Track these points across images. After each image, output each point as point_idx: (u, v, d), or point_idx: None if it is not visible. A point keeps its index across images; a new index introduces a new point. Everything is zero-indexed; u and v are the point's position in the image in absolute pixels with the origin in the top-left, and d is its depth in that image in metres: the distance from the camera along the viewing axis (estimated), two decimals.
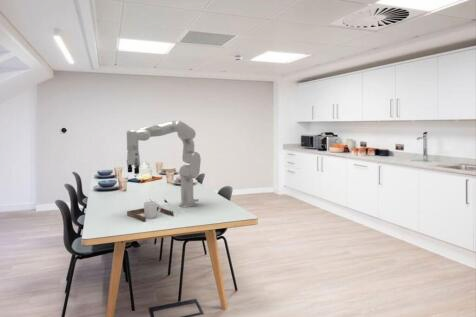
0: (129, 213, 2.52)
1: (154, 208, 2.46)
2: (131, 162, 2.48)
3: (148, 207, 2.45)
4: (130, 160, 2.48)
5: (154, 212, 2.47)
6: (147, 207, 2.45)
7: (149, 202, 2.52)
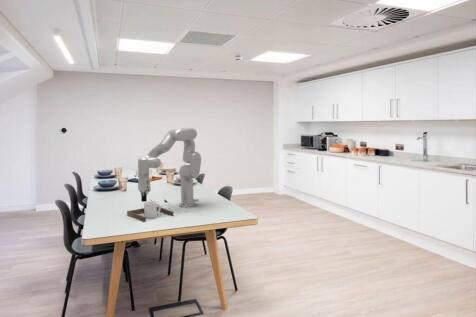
0: (129, 213, 2.52)
1: (154, 208, 2.46)
2: (142, 189, 2.54)
3: (148, 207, 2.45)
4: (141, 187, 2.54)
5: (154, 212, 2.47)
6: (147, 207, 2.45)
7: (149, 202, 2.52)
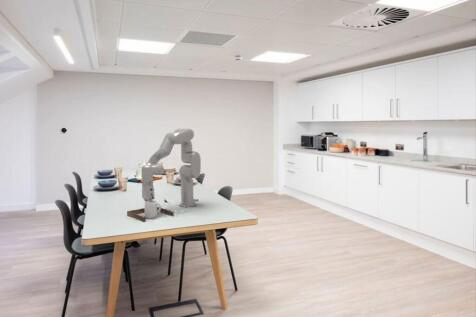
0: (129, 213, 2.52)
1: (154, 208, 2.46)
2: (146, 197, 2.51)
3: (148, 207, 2.44)
4: (145, 195, 2.52)
5: (154, 212, 2.46)
6: (147, 207, 2.44)
7: (149, 201, 2.51)
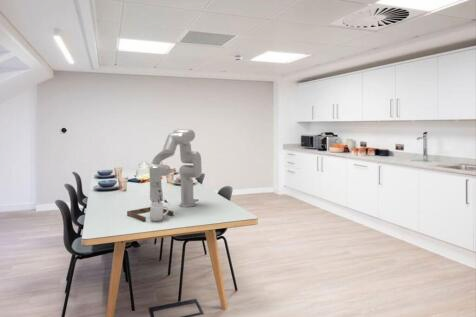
0: (129, 213, 2.52)
1: (159, 212, 2.37)
2: (154, 199, 2.42)
3: (153, 210, 2.36)
4: (153, 197, 2.43)
5: (158, 216, 2.38)
6: (152, 210, 2.36)
7: None
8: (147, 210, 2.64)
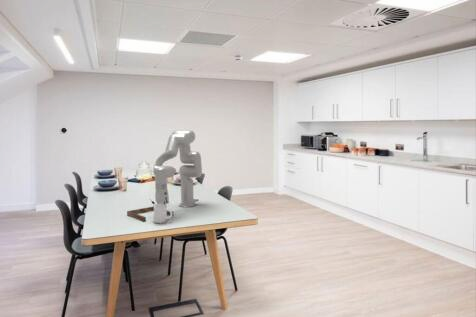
0: (129, 213, 2.52)
1: (160, 214, 2.31)
2: (160, 201, 2.38)
3: (154, 211, 2.32)
4: (159, 199, 2.38)
5: (159, 218, 2.32)
6: (154, 210, 2.32)
7: (163, 205, 2.37)
8: (147, 210, 2.64)
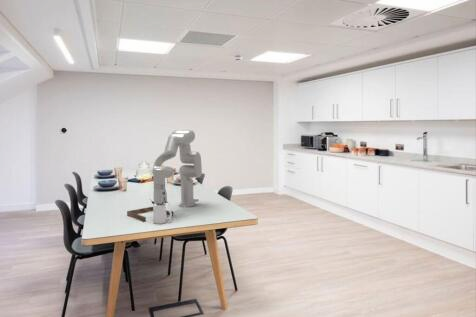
0: (129, 213, 2.52)
1: (159, 213, 2.32)
2: (158, 201, 2.40)
3: (154, 211, 2.33)
4: (157, 199, 2.40)
5: (159, 217, 2.32)
6: (153, 211, 2.34)
7: (162, 206, 2.39)
8: (147, 210, 2.64)
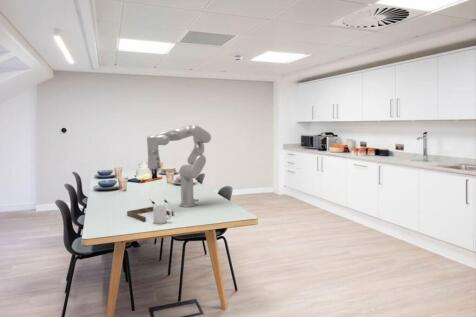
0: (129, 213, 2.52)
1: (159, 213, 2.32)
2: (152, 166, 2.58)
3: (154, 211, 2.33)
4: (151, 164, 2.59)
5: (159, 218, 2.32)
6: (153, 211, 2.34)
7: (162, 206, 2.39)
8: (147, 210, 2.64)
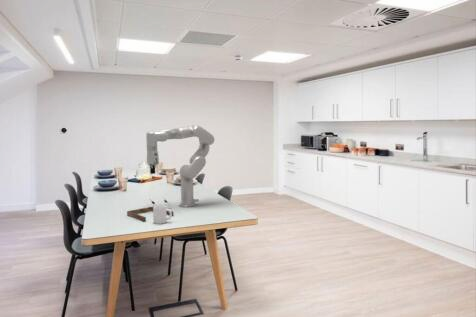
0: (129, 213, 2.52)
1: (159, 213, 2.32)
2: (151, 162, 2.65)
3: (154, 211, 2.33)
4: (150, 160, 2.65)
5: (159, 218, 2.32)
6: (153, 211, 2.34)
7: (162, 206, 2.39)
8: (147, 210, 2.64)
